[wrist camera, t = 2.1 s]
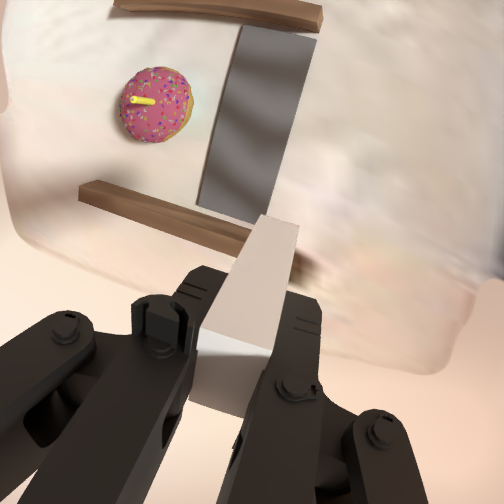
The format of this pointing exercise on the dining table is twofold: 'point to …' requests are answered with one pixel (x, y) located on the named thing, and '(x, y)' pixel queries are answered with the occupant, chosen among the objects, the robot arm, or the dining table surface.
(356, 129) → the dining table surface
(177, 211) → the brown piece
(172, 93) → the cupcake
